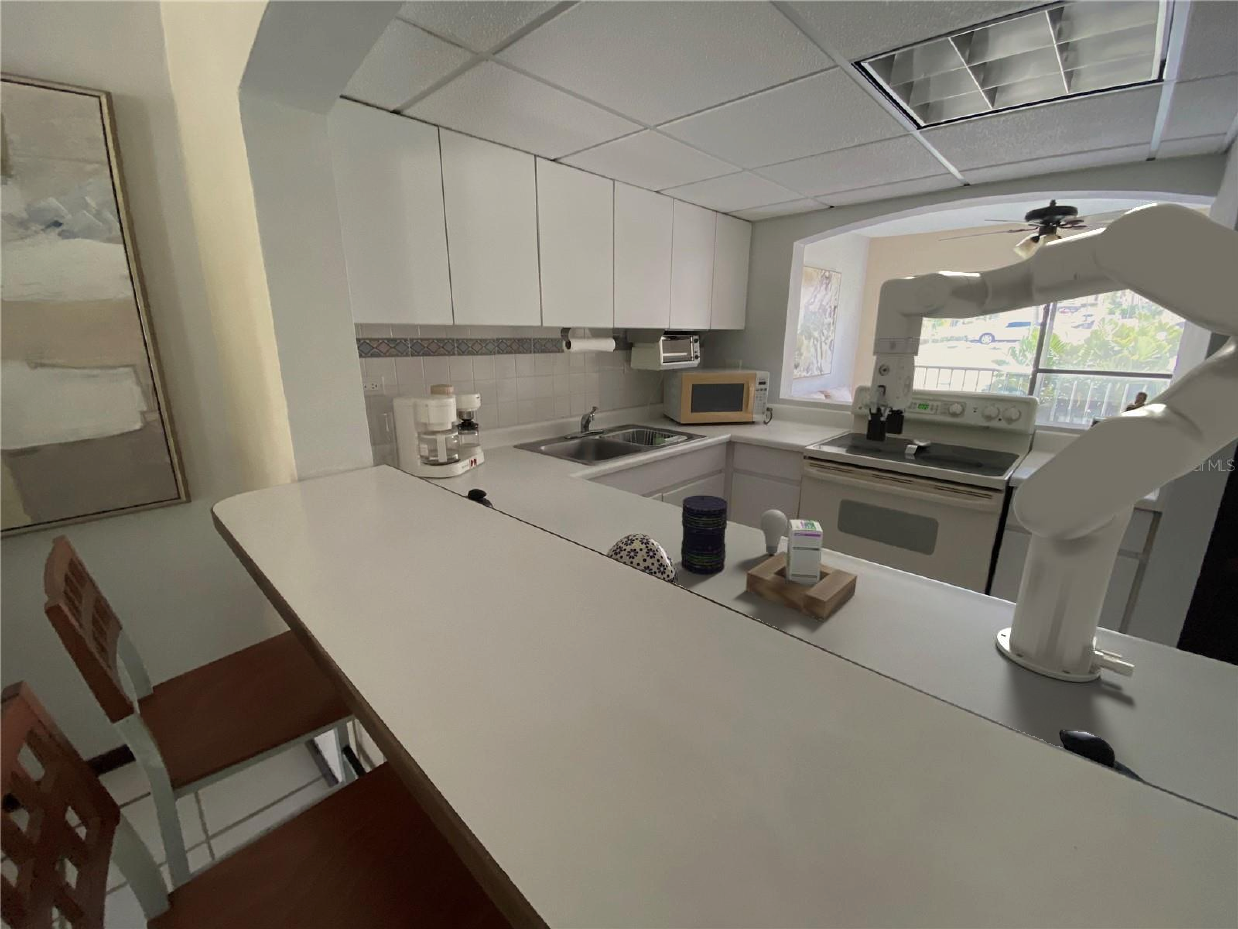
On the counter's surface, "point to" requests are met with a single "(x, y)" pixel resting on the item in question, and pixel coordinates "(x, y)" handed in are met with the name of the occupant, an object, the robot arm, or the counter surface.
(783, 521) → the lightbulb
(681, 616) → the counter surface
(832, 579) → the holder block
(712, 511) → the storage jar
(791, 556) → the syrup box
